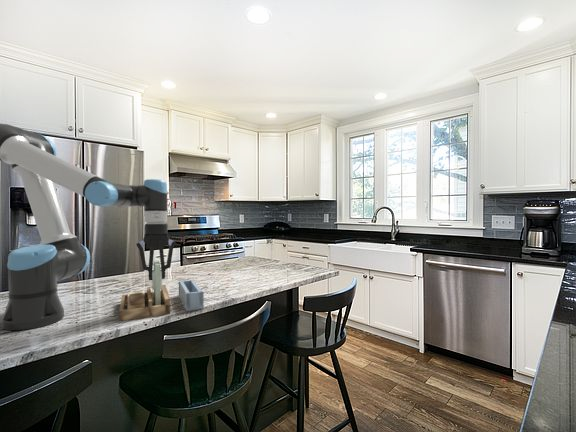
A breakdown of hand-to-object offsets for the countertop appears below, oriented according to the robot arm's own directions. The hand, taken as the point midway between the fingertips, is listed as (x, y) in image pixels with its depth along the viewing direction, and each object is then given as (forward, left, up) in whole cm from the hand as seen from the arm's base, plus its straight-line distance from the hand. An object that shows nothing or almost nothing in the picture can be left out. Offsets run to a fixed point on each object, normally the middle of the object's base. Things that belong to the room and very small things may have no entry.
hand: (157, 288), depth 110 cm
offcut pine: (-7, +5, -7) cm, 10 cm away
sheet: (0, 0, -7) cm, 7 cm away
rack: (-4, 0, -6) cm, 8 cm away
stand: (+11, 0, -6) cm, 13 cm away
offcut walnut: (-7, -5, -3) cm, 9 cm away
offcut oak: (-7, -5, -7) cm, 11 cm away
